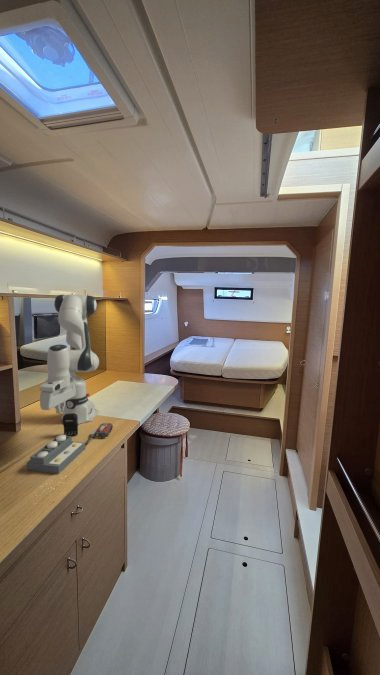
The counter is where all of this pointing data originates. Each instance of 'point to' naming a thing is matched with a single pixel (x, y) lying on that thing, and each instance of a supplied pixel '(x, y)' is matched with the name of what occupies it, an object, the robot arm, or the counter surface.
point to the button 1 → (42, 454)
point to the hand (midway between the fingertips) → (60, 412)
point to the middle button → (52, 445)
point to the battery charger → (70, 424)
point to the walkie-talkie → (101, 431)
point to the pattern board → (56, 456)
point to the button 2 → (61, 438)
